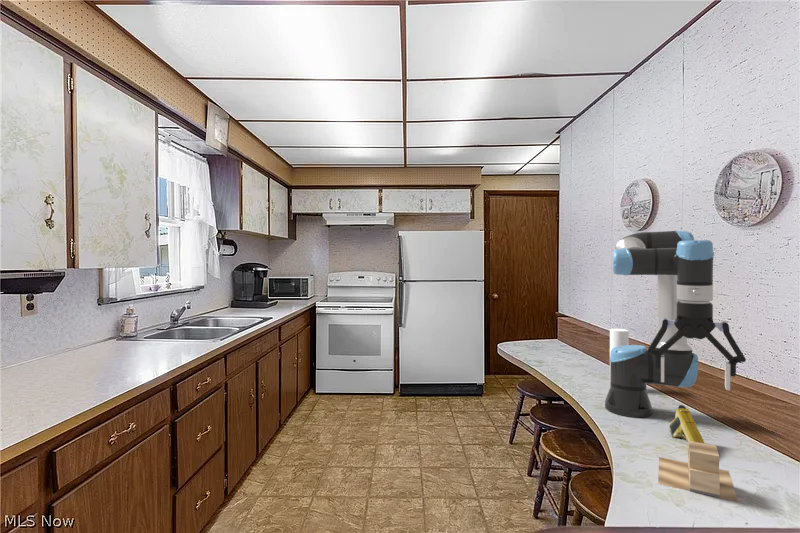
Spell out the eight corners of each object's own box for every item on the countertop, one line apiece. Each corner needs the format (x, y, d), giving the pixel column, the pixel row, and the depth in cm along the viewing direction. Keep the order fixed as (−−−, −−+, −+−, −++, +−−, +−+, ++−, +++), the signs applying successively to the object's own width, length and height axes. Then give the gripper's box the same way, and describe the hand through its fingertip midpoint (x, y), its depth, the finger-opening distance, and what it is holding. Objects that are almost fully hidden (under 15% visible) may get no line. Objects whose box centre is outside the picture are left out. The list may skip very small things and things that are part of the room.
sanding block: (688, 475, 105) (688, 439, 105) (715, 481, 103) (715, 444, 102) (690, 491, 99) (689, 452, 99) (719, 497, 96) (719, 457, 96)
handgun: (676, 426, 134) (685, 400, 128) (701, 484, 118) (712, 458, 112) (667, 426, 135) (676, 400, 129) (691, 483, 119) (702, 457, 113)
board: (658, 462, 116) (658, 456, 116) (728, 476, 108) (728, 470, 108) (658, 489, 102) (658, 483, 102) (737, 508, 94) (737, 501, 94)
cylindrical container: (631, 389, 181) (631, 330, 180) (623, 392, 176) (623, 331, 176) (615, 385, 186) (614, 328, 186) (606, 388, 182) (606, 329, 182)
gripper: (637, 301, 111) (637, 381, 112) (761, 305, 98) (760, 397, 99) (638, 297, 117) (638, 374, 118) (755, 301, 104) (754, 387, 105)
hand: (693, 384), depth 109 cm, fingers open, 13 cm apart
